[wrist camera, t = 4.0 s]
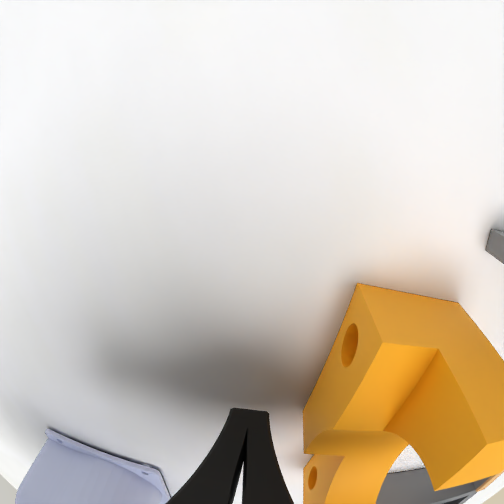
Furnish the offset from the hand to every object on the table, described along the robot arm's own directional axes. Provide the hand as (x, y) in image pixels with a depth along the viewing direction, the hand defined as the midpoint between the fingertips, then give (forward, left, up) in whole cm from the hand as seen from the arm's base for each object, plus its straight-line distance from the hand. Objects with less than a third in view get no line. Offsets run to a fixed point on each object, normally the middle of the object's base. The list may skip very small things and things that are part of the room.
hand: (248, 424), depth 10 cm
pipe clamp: (+4, 0, -2) cm, 5 cm away
